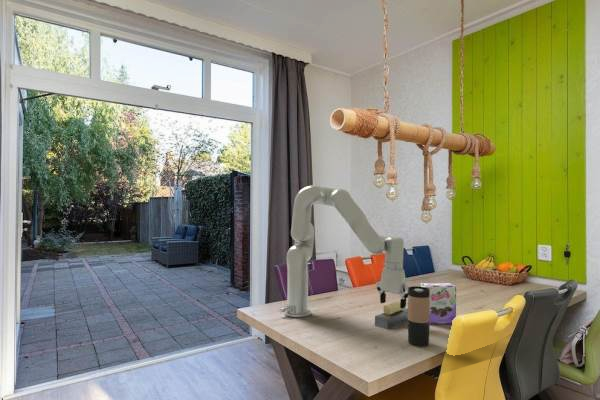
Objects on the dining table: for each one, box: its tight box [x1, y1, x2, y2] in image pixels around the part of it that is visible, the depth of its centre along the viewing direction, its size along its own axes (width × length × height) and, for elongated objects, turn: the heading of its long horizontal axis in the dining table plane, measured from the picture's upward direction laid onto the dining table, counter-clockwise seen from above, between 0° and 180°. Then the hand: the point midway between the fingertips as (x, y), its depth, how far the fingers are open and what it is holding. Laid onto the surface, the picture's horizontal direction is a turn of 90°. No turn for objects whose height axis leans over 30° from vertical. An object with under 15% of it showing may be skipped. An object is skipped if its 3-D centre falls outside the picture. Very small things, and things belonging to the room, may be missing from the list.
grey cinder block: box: [374, 307, 408, 330], centre depth 157 cm, size 20×6×4 cm, turn 135°
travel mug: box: [407, 285, 431, 348], centre depth 133 cm, size 8×8×20 cm
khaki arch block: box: [383, 301, 404, 316], centre depth 157 cm, size 11×3×6 cm, turn 135°
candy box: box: [419, 282, 457, 325], centre depth 157 cm, size 14×6×16 cm, turn 94°
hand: (392, 305), depth 157 cm, fingers open, 9 cm apart
